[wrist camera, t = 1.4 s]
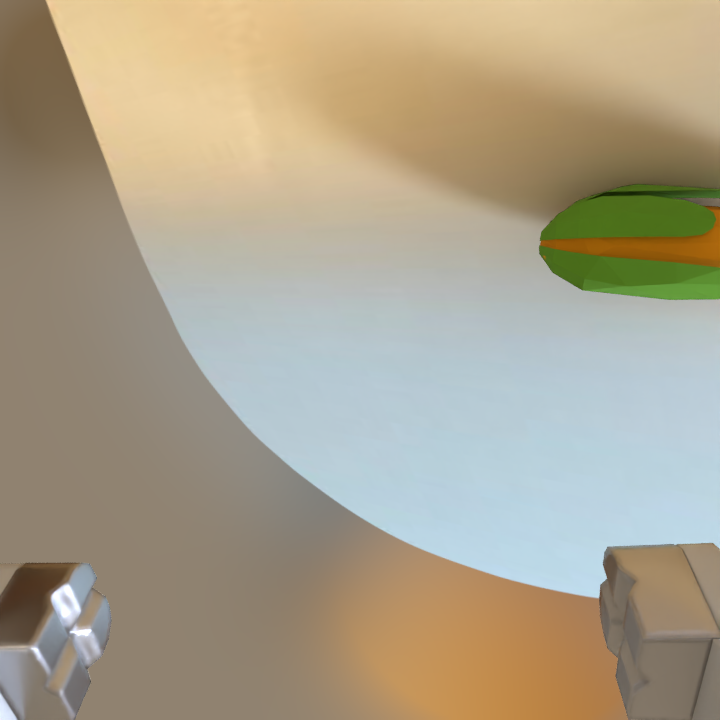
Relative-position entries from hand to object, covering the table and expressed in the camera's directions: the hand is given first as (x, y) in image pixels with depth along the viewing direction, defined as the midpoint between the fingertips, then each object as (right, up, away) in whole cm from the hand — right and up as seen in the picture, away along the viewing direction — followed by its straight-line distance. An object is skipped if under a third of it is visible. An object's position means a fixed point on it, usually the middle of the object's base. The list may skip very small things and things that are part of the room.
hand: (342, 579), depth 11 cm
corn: (+24, +14, +37) cm, 46 cm away
